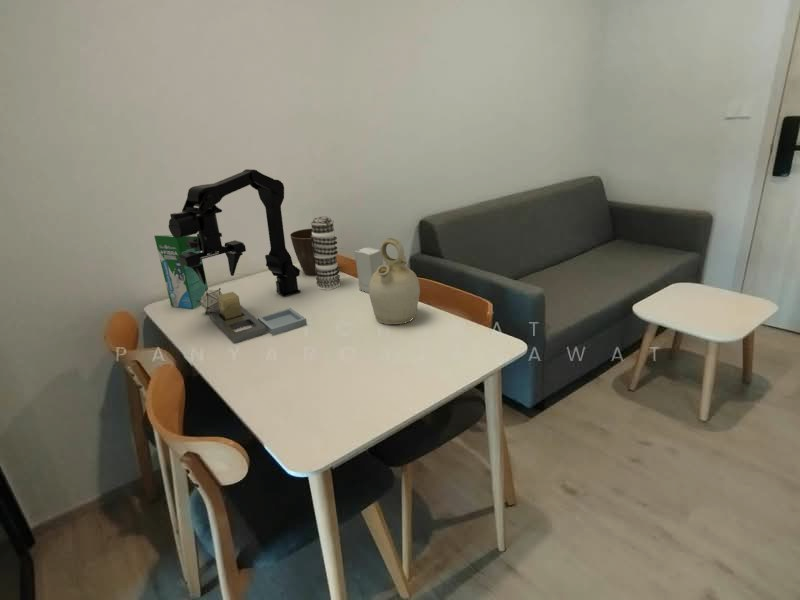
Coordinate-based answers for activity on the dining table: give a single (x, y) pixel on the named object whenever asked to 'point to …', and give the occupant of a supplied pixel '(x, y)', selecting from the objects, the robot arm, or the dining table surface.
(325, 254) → the patterned tower model
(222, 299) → the tan rectangular block
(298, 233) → the plant pot
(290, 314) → the tray
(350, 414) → the dining table surface
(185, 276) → the milk carton
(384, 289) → the jug
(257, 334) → the grey flat frame
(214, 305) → the game die
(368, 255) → the skincare box
